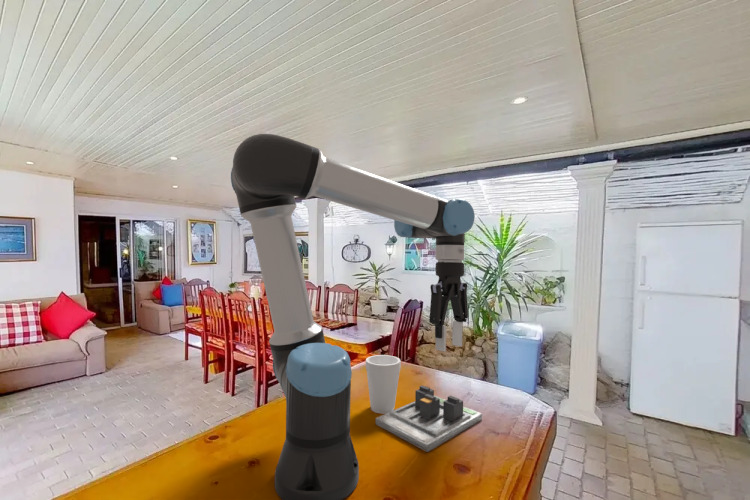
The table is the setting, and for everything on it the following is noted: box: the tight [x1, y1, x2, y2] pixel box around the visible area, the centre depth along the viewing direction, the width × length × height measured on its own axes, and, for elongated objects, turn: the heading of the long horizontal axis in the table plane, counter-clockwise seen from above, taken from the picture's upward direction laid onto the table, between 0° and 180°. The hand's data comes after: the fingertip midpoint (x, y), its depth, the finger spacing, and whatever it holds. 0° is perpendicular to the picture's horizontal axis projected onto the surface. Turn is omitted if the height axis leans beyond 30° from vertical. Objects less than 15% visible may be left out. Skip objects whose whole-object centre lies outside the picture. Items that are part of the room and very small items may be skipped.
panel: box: [375, 395, 483, 453], centre depth 85 cm, size 22×16×2 cm
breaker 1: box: [414, 385, 435, 408], centre depth 91 cm, size 4×3×5 cm
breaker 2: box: [420, 394, 440, 420], centre depth 85 cm, size 4×3×5 cm
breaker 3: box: [443, 395, 464, 422], centre depth 85 cm, size 4×3×5 cm
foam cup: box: [365, 354, 402, 415], centre depth 93 cm, size 10×9×13 cm
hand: (449, 347), depth 91 cm, fingers open, 7 cm apart
